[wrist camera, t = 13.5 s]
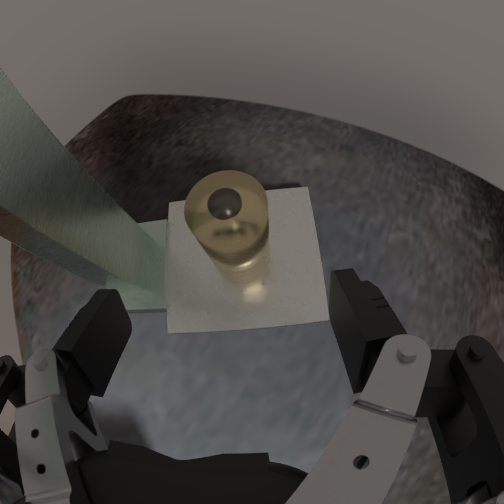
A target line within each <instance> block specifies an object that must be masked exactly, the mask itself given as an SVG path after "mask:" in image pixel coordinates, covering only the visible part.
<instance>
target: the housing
mask: <svg viewBox="0 0 504 504" xmlns="http://www.w3.org/2000/svg"><path fill="white" fill-rule="evenodd" d="M184 216H185V220H186V223H187V225H188V227H189V229H190V230H191V232H192V233H193V235H194V236H195V238H196V239H197V241H198V242H199V244H200V245H201V246H202V248H203V249H204V251H205V252H206V254H207V255H208V257H209V258H210V259H211V261H212V262H213V264H214V265H215V267H216V268H217V269H218V271H219V272H220V274H221V275H222V276H223V277H224V278H225V279H227V280H228V281H230V282H232V283H236V284H248V283H252V282H254V281H256V280H258V279H259V278H260V277H261V276H262V275H263V274H264V273H265V272H266V270H267V268H268V266H269V262H270V244H269V218H268V199H267V195H266V192H265V190H264V188H263V186H262V185H261V184H260V183H259V182H258V181H257V180H256V179H255V178H254V177H252V176H251V175H249V174H246V173H244V172H240V171H235V170H225V171H219V172H215V173H212V174H210V175H208V176H206V177H204V178H203V179H201V180H200V181H199V182H198V183H196V184H195V186H194V187H193V188H192V189H191V191H190V192H189V194H188V196H187V198H186V201H185V205H184Z"/></svg>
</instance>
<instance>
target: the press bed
mask: <svg viewBox="0 0 504 504" xmlns="http://www.w3.org/2000/svg"><path fill="white" fill-rule="evenodd" d="M265 192H266V195H267V199H268V218H269V244H270V262H269V266H268V268H267V270H266V272H265V273H264V274H263V275H262V276H261V277H260V278H259V279H258V280H256V281H254V282H252V283H248V284H236V283H232V282H230V281H228V280H227V279H225V278H224V277H223V276H222V275H221V274H220V272H219V271H218V269H217V268H216V267H215V265H214V264H213V262H212V261H211V259H210V258H209V257H208V255H207V254H206V252H205V251H204V249H203V248H202V246H201V245H200V244H199V242H198V241H197V239H196V238H195V236H194V235H193V233H192V232H191V230H190V229H189V227H188V225H187V223H186V220H185V216H184V205H185V201H186V200H183V201H177V202H170V203H169V215H168V221H167V219H164V220H157V221H150V222H144V223H136V222H135V221H134V220H133V219H132V218H131V217H130V216H129V215H128V214H127V213H126V212H125V211H124V210H123V209H122V208H121V207H120V206H119V205H118V204H117V203H116V202H115V201H114V200H113V199H112V198H111V197H110V196H109V195H108V194H107V192H106V191H105V190H104V189H103V188H102V187H101V186H100V185H99V184H98V183H97V182H96V181H95V180H94V179H93V178H92V177H91V176H90V175H89V173H88V172H87V171H86V170H85V169H84V168H83V167H82V166H81V165H80V164H79V163H78V161H77V160H76V159H75V158H74V157H73V156H72V155H71V154H70V153H69V151H68V150H67V149H66V148H65V147H64V146H63V145H62V143H61V142H60V141H59V140H58V139H57V138H56V137H55V135H54V134H53V133H52V132H51V131H50V129H49V128H48V127H47V126H46V125H45V124H44V122H43V121H42V120H41V119H40V118H39V116H38V115H37V114H36V113H35V111H34V110H33V109H32V108H31V107H30V105H29V104H28V103H27V101H26V100H25V99H24V98H23V96H22V95H21V94H20V93H19V91H18V90H17V89H16V87H15V86H14V85H13V83H12V82H11V81H10V79H9V78H8V77H7V75H6V74H5V72H4V71H3V70H2V68H1V67H0V236H1V237H3V238H5V239H7V240H9V241H10V242H12V243H14V244H16V245H17V246H19V247H21V248H23V249H25V250H27V251H29V252H31V253H33V254H34V255H36V256H38V257H40V258H42V259H44V260H46V261H48V262H50V263H52V264H54V265H57V266H59V267H61V268H63V269H65V270H67V271H69V272H71V273H73V274H76V275H78V276H80V277H82V278H85V279H87V280H89V281H91V282H94V283H96V284H98V285H101V286H103V287H105V288H106V289H116V290H117V291H118V292H119V294H120V296H121V299H122V301H123V304H124V306H125V309H126V311H127V313H149V312H167V324H168V333H171V334H189V333H211V332H228V331H242V330H255V329H266V328H276V327H286V326H295V325H303V324H311V323H319V322H326V321H328V320H329V313H328V305H327V298H326V291H325V283H324V277H323V270H322V264H321V257H320V251H319V245H318V239H317V234H316V228H315V223H314V217H313V212H312V207H311V202H310V197H309V192H308V187H300V188H287V189H276V190H266V191H265Z"/></svg>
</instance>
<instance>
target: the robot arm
mask: <svg viewBox="0 0 504 504" xmlns="http://www.w3.org/2000/svg"><path fill="white" fill-rule="evenodd" d="M329 315H330V321H331V325H332V328H333V330H334V333H335V336H336V339H337V342H338V346H339V349H340V352H341V355H342V358H343V361H344V364H345V367H346V371H347V374H348V377H349V380H350V383H351V387H352V390H353V393H359V392H362V393H361V395H360V397H359V399H358V400H357V401H355V402H354V403H353V405H352V407H351V408H350V410H349V412H348V413H347V415H346V417H345V419H344V420H343V422H342V424H341V425H340V427H339V429H338V430H337V432H336V434H335V435H334V437H333V439H332V440H331V442H330V443H329V445H328V446H327V448H326V449H325V451H324V452H323V454H322V455H321V457H320V458H319V460H318V461H317V463H316V464H315V465H314V467H313V468H312V470H311V471H310V472H309V474H308V473H306V472H304V471H302V470H300V469H297V468H294V467H292V466H289V465H285V464H281V463H275V462H270V460H269V455H268V453H247V454H220V455H215V456H209V457H203V458H197V459H190V460H176V459H173V458H171V457H168V456H165V455H163V454H160V453H158V452H155V451H153V450H150V449H148V448H145V447H143V446H137V445H132V444H127V443H122V442H117V441H112V440H110V443H109V447H108V446H107V444H106V443H105V441H104V438H103V435H102V433H101V430H100V427H99V424H98V421H97V418H96V415H95V412H94V408H93V405H92V403H91V402H90V401H89V398H90V395H93V396H98V397H103V395H104V393H105V391H106V388H107V386H108V384H109V381H110V379H111V377H112V374H113V372H114V370H115V368H116V365H117V363H118V361H119V359H120V357H121V354H122V352H123V350H124V348H125V346H126V344H127V342H128V339H129V337H130V335H131V331H132V325H131V321H130V318H129V316H128V313H127V311H126V309H125V306H124V304H123V301H122V299H121V296H120V294H119V292H118V291H117V290H116V289H100V290H97V291H96V293H95V294H94V295H93V297H92V298H91V299H90V301H89V302H88V303H87V304H86V305H85V306H84V307H83V308H81V309H80V310H79V312H78V313H77V314H76V316H75V317H74V320H72V321H71V323H70V324H69V327H67V328H66V330H65V331H64V333H63V334H62V336H61V337H60V338H59V340H58V341H57V343H56V344H55V346H54V347H53V349H52V350H50V349H44V350H40V351H38V352H37V353H35V354H34V355H33V356H32V357H31V358H30V359H29V360H28V362H27V364H26V365H21V366H17V364H16V363H15V361H14V360H13V359H12V357H11V356H9V355H5V356H2V357H0V414H1V412H2V409H3V407H4V405H5V403H6V401H7V399H8V400H9V401H10V402H11V403H12V404H13V405H14V406H15V407H16V409H15V422H14V424H13V426H12V429H11V431H10V434H9V436H7V435H6V434H5V433H4V432H3V431H2V430H1V429H0V504H381V503H382V501H383V499H384V498H385V496H386V494H387V492H388V490H389V488H390V486H391V484H392V482H393V480H394V478H395V476H396V474H397V472H398V470H399V467H400V465H401V463H402V461H403V458H404V456H405V454H406V451H407V449H408V446H409V444H410V441H411V438H412V436H413V433H414V430H415V427H416V423H417V419H415V417H428V420H429V423H430V426H431V429H432V432H433V435H434V438H435V442H436V445H437V448H438V452H439V455H440V458H441V462H442V466H443V469H444V473H445V477H446V481H447V485H448V490H449V494H450V499H451V504H504V363H503V362H502V360H501V359H500V357H499V356H498V354H497V352H496V351H495V349H494V348H493V346H492V345H491V344H490V343H489V342H488V341H487V340H485V339H484V338H482V337H479V336H474V335H469V336H465V337H463V338H462V339H460V340H459V342H458V343H457V346H456V348H455V350H433V349H430V348H429V346H428V345H427V344H426V343H425V342H424V341H423V340H422V339H420V338H418V337H416V336H413V335H408V334H407V333H406V331H405V329H404V328H403V326H402V324H401V323H400V321H399V319H398V318H397V316H396V314H395V313H394V311H393V310H392V308H391V307H390V306H389V303H388V302H387V300H386V299H385V298H384V296H383V294H382V292H381V291H380V289H379V288H378V287H377V286H375V285H374V284H372V283H371V282H369V281H360V279H359V277H358V276H357V274H356V273H355V271H354V269H352V268H351V269H343V270H334V271H332V272H331V278H330V299H329ZM24 493H25V496H24Z"/></svg>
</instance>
